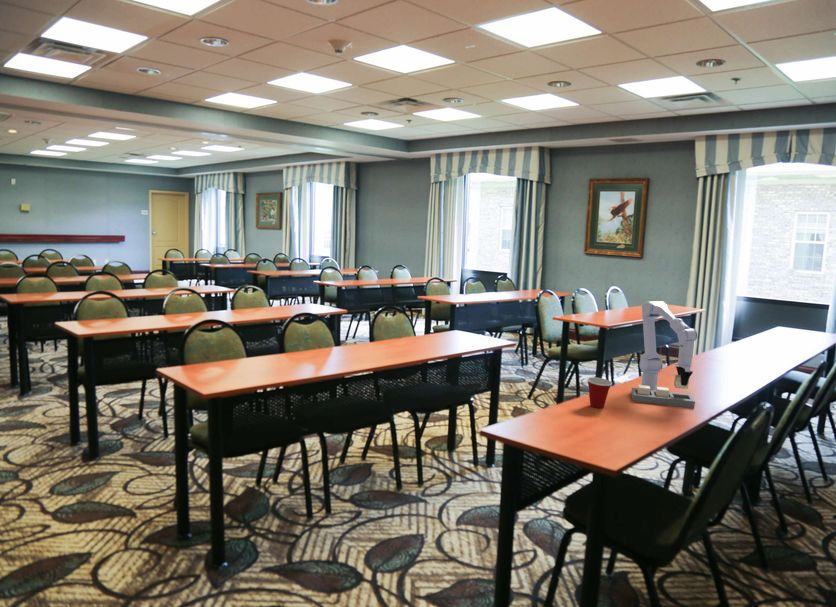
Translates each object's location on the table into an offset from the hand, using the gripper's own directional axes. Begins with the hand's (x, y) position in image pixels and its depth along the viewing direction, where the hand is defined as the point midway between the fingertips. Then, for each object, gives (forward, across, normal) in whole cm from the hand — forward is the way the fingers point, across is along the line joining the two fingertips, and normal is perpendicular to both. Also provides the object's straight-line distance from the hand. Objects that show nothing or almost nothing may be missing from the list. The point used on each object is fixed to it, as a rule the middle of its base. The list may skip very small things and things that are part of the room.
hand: (682, 383), depth 277 cm
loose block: (+2, 0, -1) cm, 2 cm away
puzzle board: (+9, 0, -8) cm, 12 cm away
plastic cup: (+9, +19, -38) cm, 44 cm away
